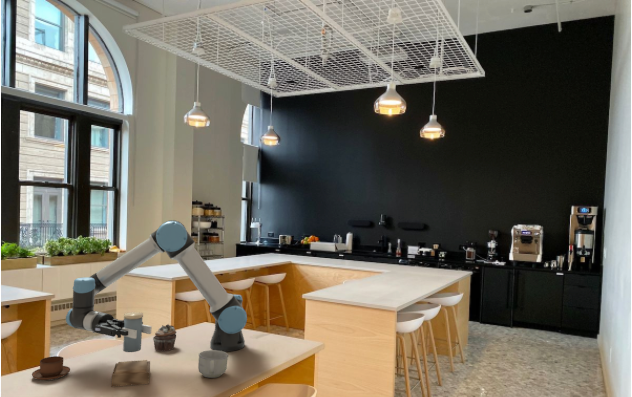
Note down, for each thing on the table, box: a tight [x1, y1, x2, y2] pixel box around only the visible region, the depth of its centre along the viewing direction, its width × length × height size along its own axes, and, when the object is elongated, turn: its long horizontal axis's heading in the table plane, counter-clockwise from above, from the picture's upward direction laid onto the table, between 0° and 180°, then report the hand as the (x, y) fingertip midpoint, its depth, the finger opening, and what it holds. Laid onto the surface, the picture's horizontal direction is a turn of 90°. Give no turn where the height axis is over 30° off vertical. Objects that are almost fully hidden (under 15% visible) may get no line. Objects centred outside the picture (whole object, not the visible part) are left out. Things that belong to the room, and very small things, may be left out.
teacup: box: [197, 349, 229, 379], centre depth 170 cm, size 14×11×8 cm
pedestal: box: [110, 359, 151, 388], centre depth 166 cm, size 12×12×5 cm
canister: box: [122, 311, 144, 353], centre depth 166 cm, size 6×6×13 cm
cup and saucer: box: [31, 355, 71, 381], centre depth 166 cm, size 12×12×6 cm
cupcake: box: [152, 323, 177, 352], centre depth 201 cm, size 10×10×10 cm
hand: (143, 332), depth 163 cm, fingers closed on canister, 6 cm apart
